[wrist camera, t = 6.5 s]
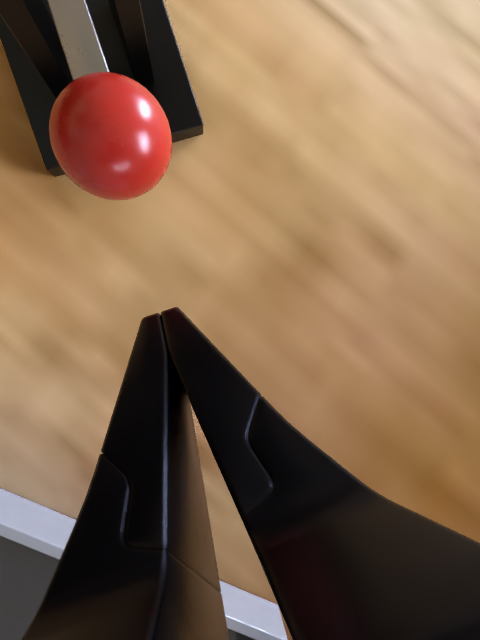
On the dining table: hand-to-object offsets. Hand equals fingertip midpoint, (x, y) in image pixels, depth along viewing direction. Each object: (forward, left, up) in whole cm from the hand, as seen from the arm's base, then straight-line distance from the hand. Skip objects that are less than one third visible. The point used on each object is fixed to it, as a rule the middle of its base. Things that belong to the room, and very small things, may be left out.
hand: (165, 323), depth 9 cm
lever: (+7, -7, -6) cm, 11 cm away
